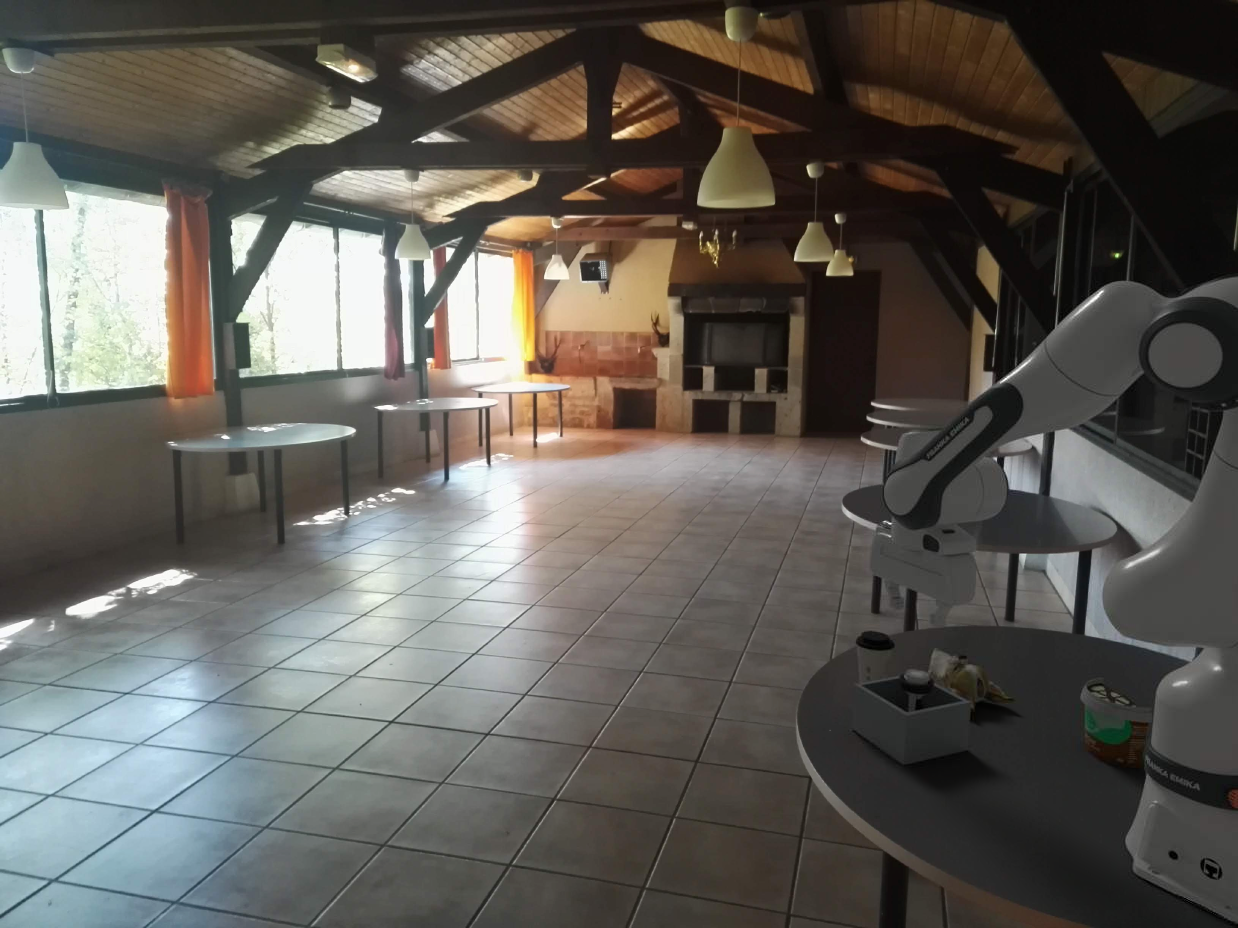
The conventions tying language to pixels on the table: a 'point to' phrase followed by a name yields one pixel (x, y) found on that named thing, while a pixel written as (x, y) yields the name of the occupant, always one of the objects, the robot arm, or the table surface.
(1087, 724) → the food container
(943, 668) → the ceramic sculpture
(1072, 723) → the table surface
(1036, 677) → the table surface
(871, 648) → the coffee cup
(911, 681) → the push button
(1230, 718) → the robot arm
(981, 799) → the table surface
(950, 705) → the bin
